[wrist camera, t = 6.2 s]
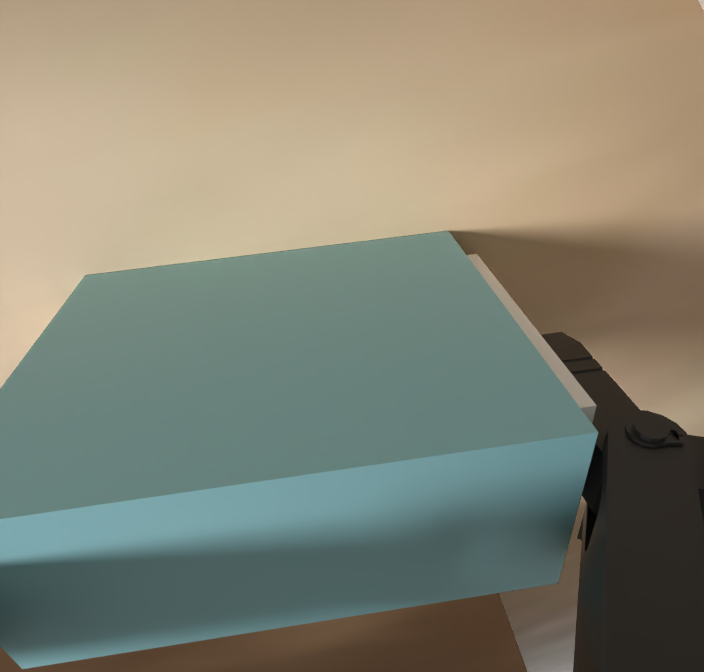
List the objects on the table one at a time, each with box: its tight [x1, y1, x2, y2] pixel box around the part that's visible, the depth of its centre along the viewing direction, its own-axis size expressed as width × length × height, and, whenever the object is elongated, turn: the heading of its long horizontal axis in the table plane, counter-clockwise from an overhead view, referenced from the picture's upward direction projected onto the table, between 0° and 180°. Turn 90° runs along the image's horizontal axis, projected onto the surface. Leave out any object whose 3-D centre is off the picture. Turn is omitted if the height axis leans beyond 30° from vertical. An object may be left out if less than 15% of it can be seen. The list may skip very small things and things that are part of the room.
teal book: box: [0, 231, 598, 669], centre depth 11 cm, size 4×10×8 cm, turn 95°
